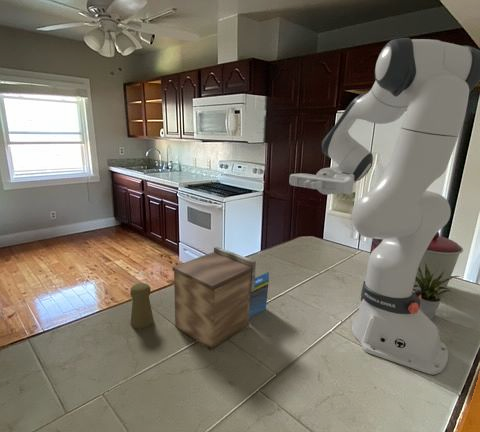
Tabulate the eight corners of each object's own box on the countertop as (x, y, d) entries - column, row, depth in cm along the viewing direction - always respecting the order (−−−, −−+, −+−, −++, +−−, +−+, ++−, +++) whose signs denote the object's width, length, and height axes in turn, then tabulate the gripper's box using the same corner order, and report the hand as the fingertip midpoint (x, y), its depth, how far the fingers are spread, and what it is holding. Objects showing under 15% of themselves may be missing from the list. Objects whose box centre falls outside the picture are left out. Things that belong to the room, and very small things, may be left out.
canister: (432, 304, 100) (446, 242, 94) (383, 280, 115) (393, 226, 109) (463, 292, 108) (477, 235, 103) (413, 271, 123) (424, 220, 118)
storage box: (248, 325, 86) (251, 271, 81) (211, 350, 75) (212, 290, 71) (212, 305, 94) (213, 256, 90) (175, 326, 84) (174, 271, 80)
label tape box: (257, 303, 97) (259, 267, 93) (267, 309, 94) (269, 271, 91) (236, 314, 90) (238, 275, 87) (246, 320, 88) (248, 280, 84)
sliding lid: (254, 290, 84) (255, 261, 82) (211, 314, 72) (212, 281, 70) (216, 273, 93) (216, 246, 91) (173, 292, 81) (172, 262, 79)
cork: (125, 324, 84) (122, 287, 81) (142, 313, 89) (140, 278, 86) (142, 331, 82) (140, 293, 79) (158, 319, 87) (156, 283, 84)
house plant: (382, 305, 98) (391, 256, 94) (412, 297, 104) (421, 251, 100) (425, 331, 86) (437, 277, 82) (456, 320, 92) (469, 269, 87)
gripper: (302, 168, 111) (280, 171, 101) (359, 175, 98) (340, 179, 88) (300, 185, 113) (278, 190, 103) (356, 194, 100) (338, 201, 90)
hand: (308, 185), depth 95 cm, fingers closed
